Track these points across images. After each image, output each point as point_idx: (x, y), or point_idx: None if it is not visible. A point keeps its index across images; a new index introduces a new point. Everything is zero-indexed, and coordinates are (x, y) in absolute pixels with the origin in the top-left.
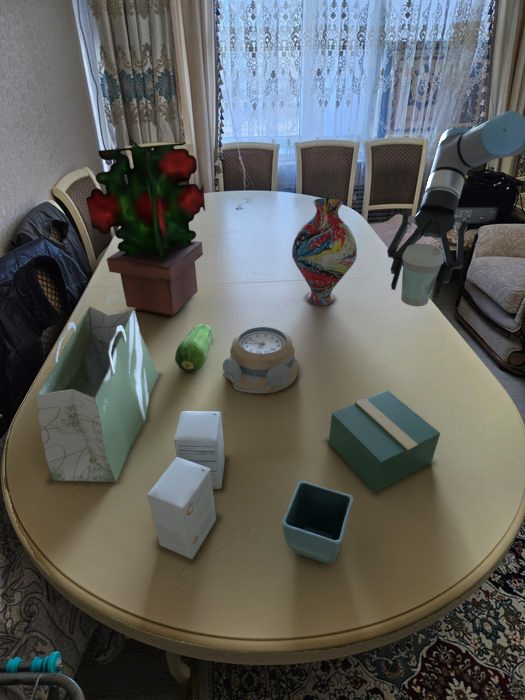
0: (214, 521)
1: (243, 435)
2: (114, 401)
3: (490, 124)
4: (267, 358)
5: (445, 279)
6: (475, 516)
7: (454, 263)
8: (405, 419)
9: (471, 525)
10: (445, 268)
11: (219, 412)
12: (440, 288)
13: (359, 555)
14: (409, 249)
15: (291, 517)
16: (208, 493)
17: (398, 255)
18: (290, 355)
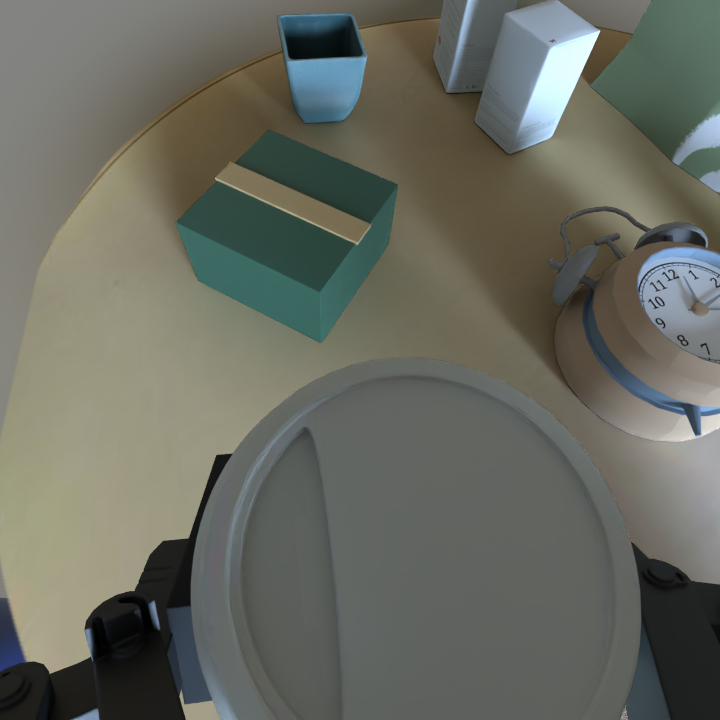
0: (445, 87)
1: (522, 199)
2: (702, 24)
3: None
4: (632, 257)
5: (180, 546)
6: (117, 218)
7: (83, 686)
8: (253, 226)
9: (124, 203)
10: (179, 585)
11: (550, 46)
12: (210, 476)
13: (266, 119)
14: (576, 502)
15: (352, 49)
16: (458, 15)
17: (644, 570)
18: (608, 323)
